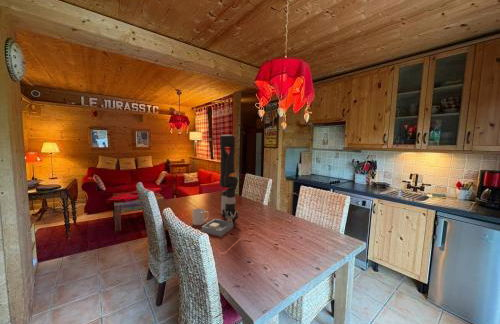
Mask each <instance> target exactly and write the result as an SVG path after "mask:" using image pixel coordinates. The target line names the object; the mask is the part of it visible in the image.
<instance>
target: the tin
mask: <svg viewBox="0 0 500 324" xmlns="http://www.w3.org/2000/svg"><path fill="white" fill-rule="evenodd" d="M227 221H230V222H233V219H232V217H231V216H230V215H227Z"/></svg>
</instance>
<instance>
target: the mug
mask: <svg viewBox="0 0 500 324" xmlns="http://www.w3.org/2000/svg"><path fill="white" fill-rule="evenodd" d="M205 213H207V214H209V211H205V209H204V208H194V209H192V225H194V226H201V225H202V226H203V225H205V222H206V221H207V220H208V219H209V216H207V217H206V218H205Z"/></svg>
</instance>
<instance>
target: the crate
mask: <svg viewBox="0 0 500 324" xmlns="http://www.w3.org/2000/svg"><path fill="white" fill-rule="evenodd" d="M212 223H218V224H220V225H219V230H218V229H214V228H209V225H210V224H212ZM233 228H234V225H233V222H230V221H225V219H219V218H214V219H212V220H211V221H209V222H207V223H204V224H202V226H201V233H203V232H204V234H209V235H212V236H213V235H214V236H216V237H222V236H224V235H225V234H227V233H228V232H230V230H232V229H233Z"/></svg>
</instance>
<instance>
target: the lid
mask: <svg viewBox="0 0 500 324" xmlns="http://www.w3.org/2000/svg"><path fill="white" fill-rule="evenodd" d="M218 225H220V224H218V223H212V224H210V225H209V226H212V227H217V226H218Z"/></svg>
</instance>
